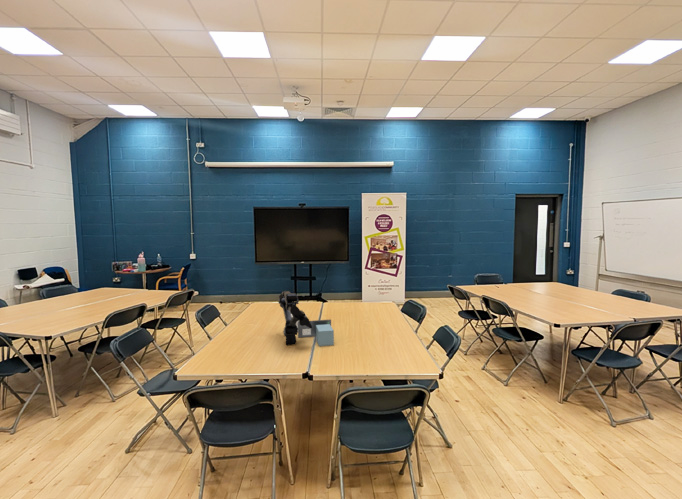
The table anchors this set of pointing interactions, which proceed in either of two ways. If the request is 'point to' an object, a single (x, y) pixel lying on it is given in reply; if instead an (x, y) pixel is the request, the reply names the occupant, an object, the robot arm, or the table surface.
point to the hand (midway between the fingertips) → (310, 325)
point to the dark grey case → (310, 332)
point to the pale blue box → (324, 335)
